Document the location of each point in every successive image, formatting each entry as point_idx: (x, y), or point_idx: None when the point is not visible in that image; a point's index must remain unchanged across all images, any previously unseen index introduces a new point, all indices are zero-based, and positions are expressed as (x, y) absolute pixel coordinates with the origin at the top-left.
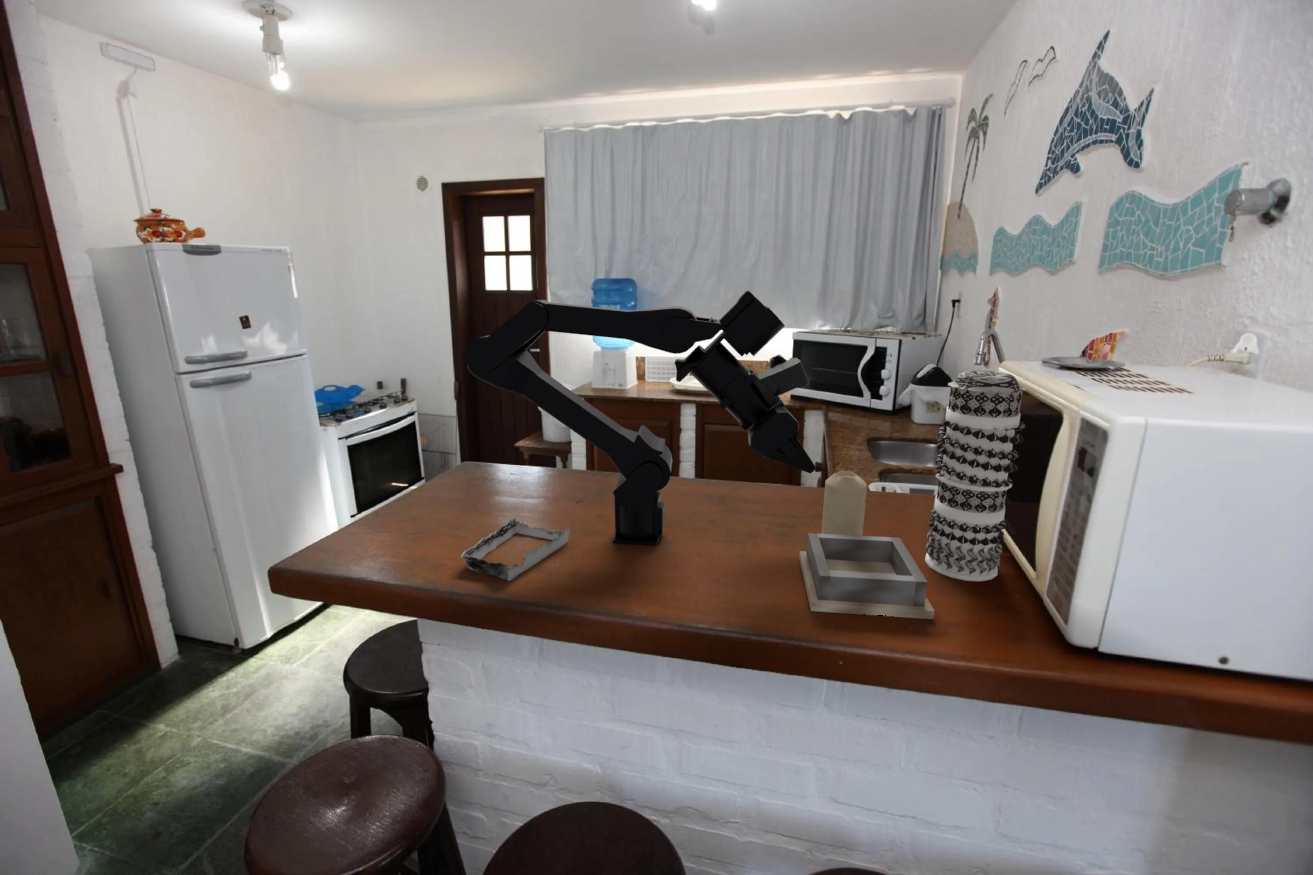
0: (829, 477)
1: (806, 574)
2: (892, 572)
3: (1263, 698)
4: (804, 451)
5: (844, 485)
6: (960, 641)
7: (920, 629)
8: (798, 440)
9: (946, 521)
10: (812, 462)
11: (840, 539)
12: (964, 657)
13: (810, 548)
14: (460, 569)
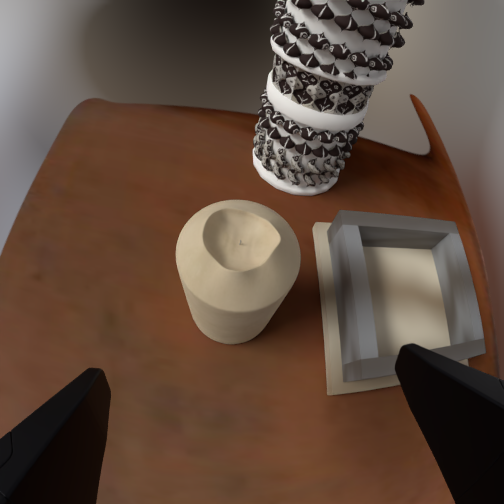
0: (215, 293)
1: None
2: (373, 250)
3: (421, 103)
4: (493, 379)
5: (291, 260)
6: None
7: None
8: (67, 388)
9: (347, 133)
10: (437, 353)
11: (373, 314)
12: (472, 233)
13: None
14: None
